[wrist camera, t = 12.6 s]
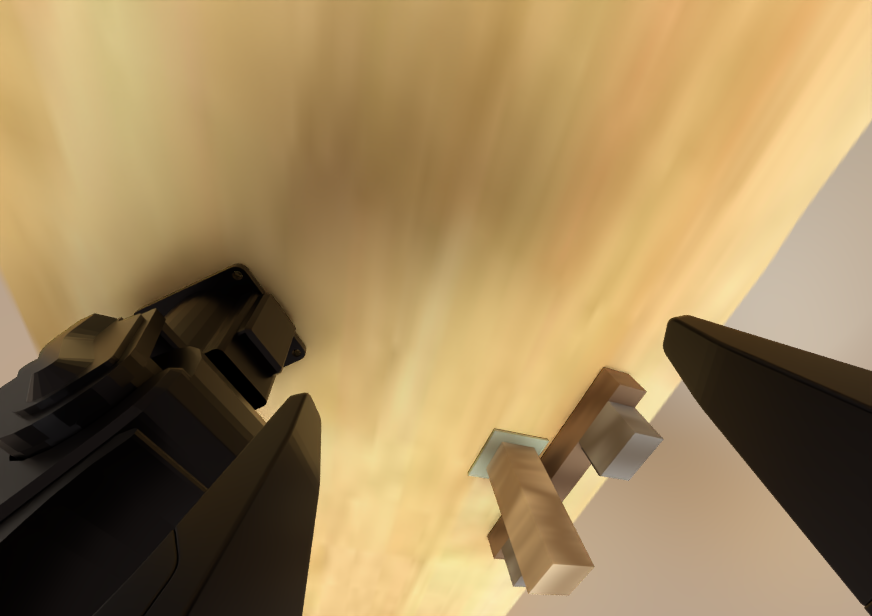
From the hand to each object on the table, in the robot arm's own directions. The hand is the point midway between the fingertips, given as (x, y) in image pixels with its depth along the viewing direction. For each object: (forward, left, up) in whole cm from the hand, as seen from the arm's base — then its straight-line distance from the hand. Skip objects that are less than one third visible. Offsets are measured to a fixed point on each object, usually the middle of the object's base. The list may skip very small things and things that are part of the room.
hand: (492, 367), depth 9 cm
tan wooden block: (-1, -20, -13) cm, 24 cm away
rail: (0, -21, -13) cm, 25 cm away
